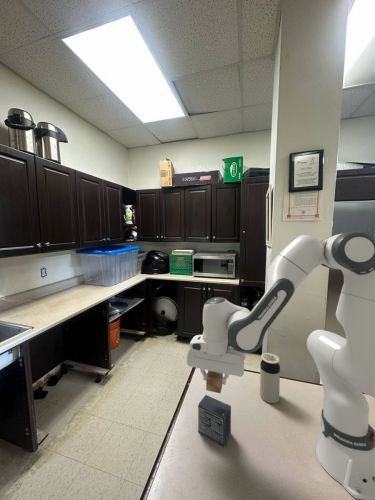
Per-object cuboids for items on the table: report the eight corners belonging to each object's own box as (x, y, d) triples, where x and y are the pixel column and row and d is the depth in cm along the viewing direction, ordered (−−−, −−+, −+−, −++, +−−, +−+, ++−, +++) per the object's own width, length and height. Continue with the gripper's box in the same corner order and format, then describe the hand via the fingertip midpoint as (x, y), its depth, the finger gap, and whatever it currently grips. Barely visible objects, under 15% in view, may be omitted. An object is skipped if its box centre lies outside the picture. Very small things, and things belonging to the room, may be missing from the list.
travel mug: (269, 406, 87) (270, 365, 86) (256, 393, 94) (256, 355, 93) (283, 400, 90) (284, 360, 89) (269, 388, 98) (269, 350, 96)
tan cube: (222, 383, 76) (222, 370, 76) (220, 393, 71) (220, 379, 71) (209, 380, 78) (209, 367, 77) (206, 390, 73) (206, 376, 73)
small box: (231, 432, 76) (232, 405, 75) (224, 448, 70) (225, 418, 69) (205, 419, 81) (205, 393, 81) (197, 432, 76) (197, 404, 75)
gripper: (245, 344, 73) (245, 381, 74) (190, 335, 80) (190, 370, 81) (245, 353, 67) (244, 394, 68) (185, 343, 74) (185, 381, 75)
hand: (214, 381), depth 74 cm, fingers closed on tan cube, 5 cm apart
